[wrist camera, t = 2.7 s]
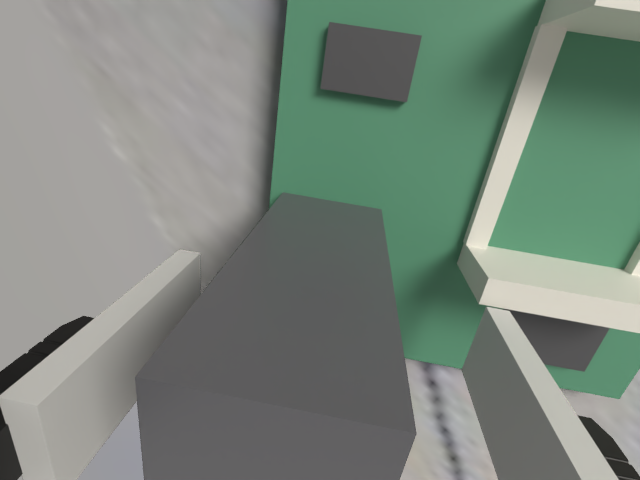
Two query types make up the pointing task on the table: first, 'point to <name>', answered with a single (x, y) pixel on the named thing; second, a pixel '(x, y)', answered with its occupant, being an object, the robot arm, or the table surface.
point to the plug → (285, 359)
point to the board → (481, 165)
